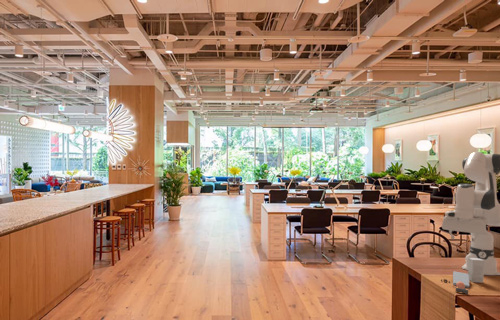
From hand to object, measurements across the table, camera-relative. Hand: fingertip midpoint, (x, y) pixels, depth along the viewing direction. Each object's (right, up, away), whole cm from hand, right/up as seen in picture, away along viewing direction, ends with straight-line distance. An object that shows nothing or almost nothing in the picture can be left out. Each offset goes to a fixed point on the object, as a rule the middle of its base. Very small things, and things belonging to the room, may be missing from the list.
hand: (462, 240), depth 186 cm
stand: (-10, -21, -2) cm, 24 cm away
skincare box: (+8, -23, +1) cm, 24 cm away
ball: (-9, -18, -13) cm, 23 cm away
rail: (-12, -21, -19) cm, 31 cm away
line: (-8, -22, -12) cm, 26 cm away
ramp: (-3, -22, -4) cm, 22 cm away
